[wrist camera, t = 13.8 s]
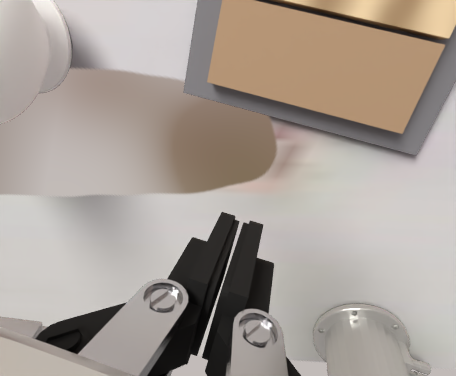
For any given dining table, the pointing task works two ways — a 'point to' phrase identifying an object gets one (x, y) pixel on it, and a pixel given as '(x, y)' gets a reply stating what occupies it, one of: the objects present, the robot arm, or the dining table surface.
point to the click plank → (391, 14)
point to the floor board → (312, 116)
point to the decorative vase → (30, 53)
